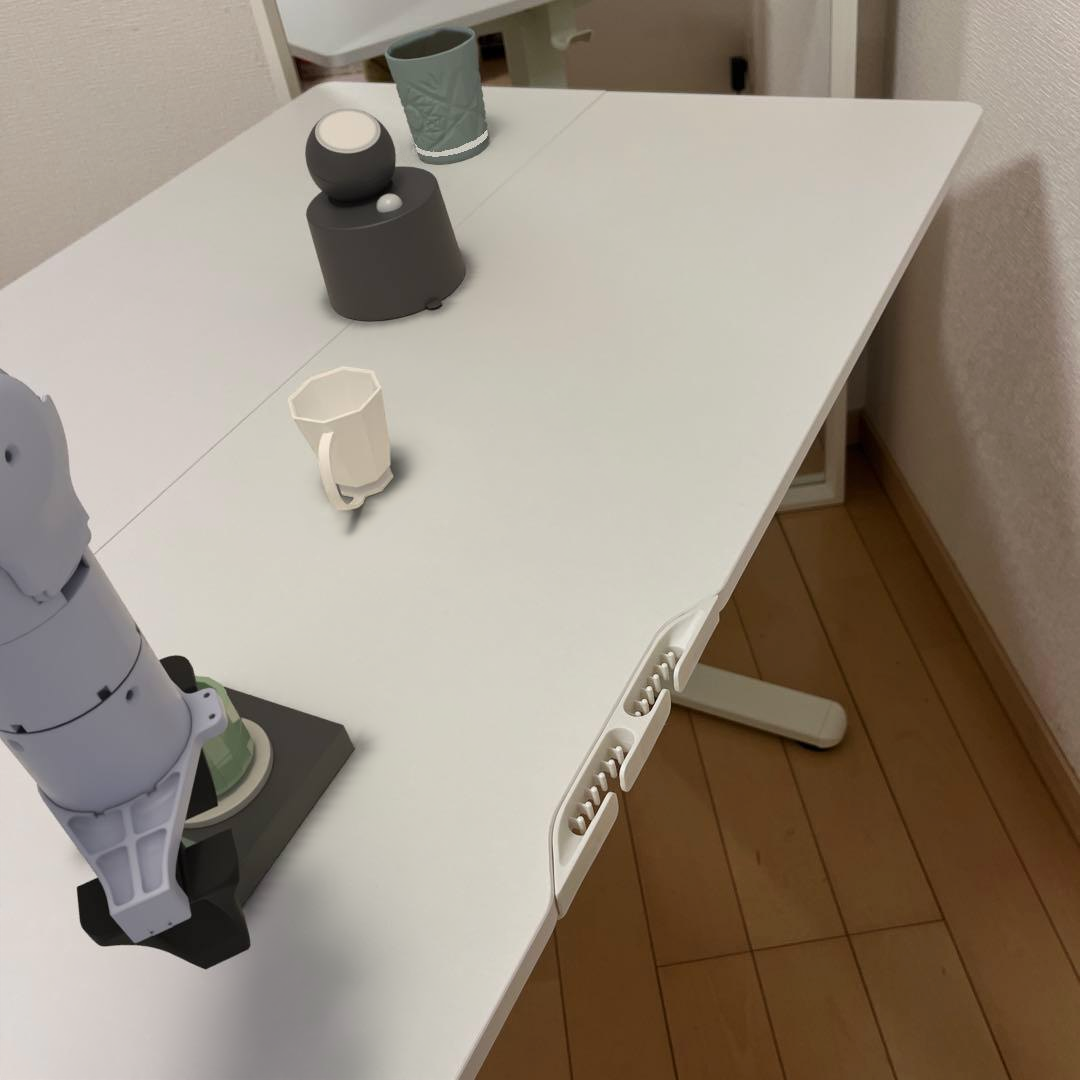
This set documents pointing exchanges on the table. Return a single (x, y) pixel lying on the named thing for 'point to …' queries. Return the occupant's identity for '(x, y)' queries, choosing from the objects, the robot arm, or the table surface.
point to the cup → (345, 432)
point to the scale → (272, 784)
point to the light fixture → (377, 222)
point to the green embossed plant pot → (440, 90)
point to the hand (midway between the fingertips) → (209, 876)
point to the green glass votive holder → (227, 743)
